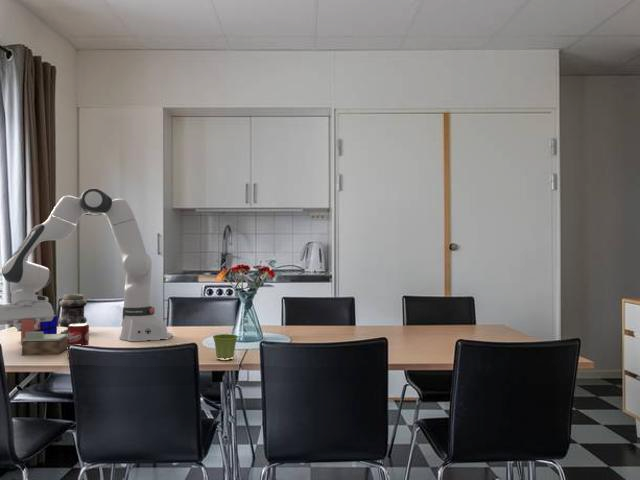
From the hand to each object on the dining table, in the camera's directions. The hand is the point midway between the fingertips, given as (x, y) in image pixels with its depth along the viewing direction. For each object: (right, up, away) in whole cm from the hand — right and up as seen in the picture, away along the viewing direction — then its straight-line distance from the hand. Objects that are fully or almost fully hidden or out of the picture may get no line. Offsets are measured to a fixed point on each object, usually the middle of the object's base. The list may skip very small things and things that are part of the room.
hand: (27, 329), depth 202 cm
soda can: (+26, -8, -13) cm, 30 cm away
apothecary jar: (+1, -8, +35) cm, 36 cm away
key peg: (0, -6, 0) cm, 6 cm away
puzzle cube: (-6, -8, +19) cm, 21 cm away
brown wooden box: (+11, -7, -6) cm, 15 cm away
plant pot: (+82, -9, -14) cm, 84 cm away
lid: (+11, -2, -6) cm, 13 cm away
